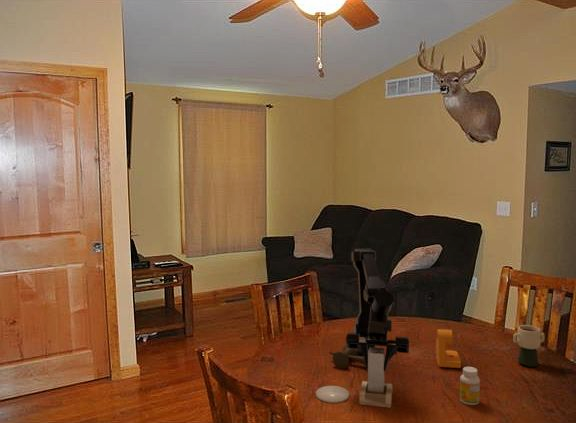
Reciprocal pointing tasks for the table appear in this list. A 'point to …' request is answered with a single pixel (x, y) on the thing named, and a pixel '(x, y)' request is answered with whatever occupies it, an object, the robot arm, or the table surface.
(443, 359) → the bracket
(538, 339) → the character mug
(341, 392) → the coaster
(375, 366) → the steel peg
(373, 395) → the collar
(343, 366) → the kendama
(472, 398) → the supplement bottle
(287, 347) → the table surface
